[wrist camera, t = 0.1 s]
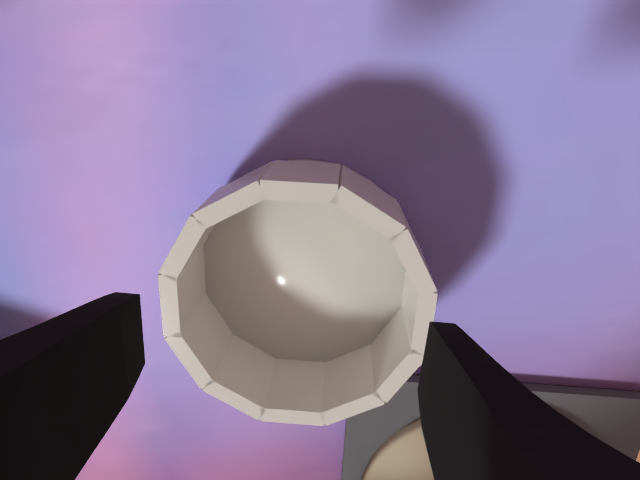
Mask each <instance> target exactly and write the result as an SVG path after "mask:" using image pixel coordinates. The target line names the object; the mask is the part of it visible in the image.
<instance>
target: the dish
mask: <svg viewBox="0 0 640 480" xmlns="http://www.w3.org/2000/svg"><path fill="white" fill-rule="evenodd" d="M158 273H159V274H158V282H159V293H160V304H161V315H162V326H163V336H166V337H165V338H164V339H165V340H166V342H167V343H168V344H169V346H170V347H171V349H172V350H173V351H174V353H175V354H176V355H177V357H178V358H179V360H180V361H181V362H182V364H183V365H184V367H185V368H186V369H187V371H188V372H189V374H190V375H191V376H192V378H193V379H194V380H195V382H196V383H197V385H198V386H199V387H200V389H201V388H203V391H204V392H206V393H208V394H210V395H212V396H214V397H216V398H217V399H219V400H221V401H223V402H225V403H227V404H229V405H230V406H232V407H234V408H236V409H238V410H240V411H242V412H243V413H245V414H247V415H249V416H251V417H253V418H255V419H256V420H259V419H260V417H261V421H266V422H278V423H291V424H304V425H317V426H324V423H325V424H326V426H327V425H330V424H332V423H335V422H338V421H341V420H343V419H346V418H349V417H352V416H354V415H357V414H360V413H363V412H365V411H368V410H371V409H373V408H376V407H379V406H382V405H384V404H385V402H386V403H387V402H388V401H389V400H390V399H391V398H392V397H393V395H394V394H395V393H396V392H397V391H398V390H399V389H400V388H401V386H402V385H403V384H404V383H405V382H406V381H407V380H408V379H409V377H410V376H411V375H412V374H413V373H414V372H415V371H416V370H417V368H418V367H419V366H420V365H421V364H422V361H423V356H424V350H425V345H426V339H427V334H428V328H429V323H430V321H431V322H434V315H435V309H436V302H437V296H438V293H437V289H436V286H435V284H434V281H433V278H432V276H431V273H430V271H429V268H428V266H427V263H426V260H425V258H424V255H423V253H422V251H421V249H420V247H419V245H418V242H417V240H416V238H415V236H414V234H413V232H412V230H411V228H410V226H409V224H408V221H407V219H406V217H405V215H404V213H403V211H402V209H401V207H400V205H399V203H398V201H397V200H396V199H395V198H393V197H392V196H390V195H389V194H387V193H386V192H384V191H383V190H382V189H381V188H380V187H379V186H378V185H376V184H375V183H374V182H372V181H371V180H370V179H368V178H367V177H365V176H363V175H361V174H360V173H358V172H356V171H354V170H352V169H349V168H347V167H346V166H344V165H340V164H337V163H331V162H327V161H321V160H313V159H292V160H285V161H284V160H275V161H274V162H273V161H271V162H269V163H267V164H265V165H263V166H261V167H259V168H257V169H254V170H252V171H250V172H248V173H246V174H245V175H243V176H242V177H240V178H238V179H236V180H234V181H232V182H230V183H228V184H227V185H225V186H223V187H221V188H219V189H217V190H216V191H215V192H214V193H213V194H212V195H211V196H210V197H209V198H208V199H207V200H206V201H205V202H204V203H203V204H202V205H201V206H200V207H199V208H198V209H197V210H196V211H195V212H193V213H192V214H191V215H190V217H189V219H188V220H187V222H186V224H185V226H184V228H183V229H182V231H181V233H180V235H179V237H178V238H177V240H176V242H175V244H174V245H173V247H172V249H171V251H170V253H169V254H168V256H167V258H166V260H165V262H164V263H163V265H162V267H161V269H160V270H159V272H158Z"/></svg>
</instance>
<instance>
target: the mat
mask: <svg viewBox="0 0 640 480" xmlns="http://www.w3.org/2000/svg"><path fill="white" fill-rule="evenodd" d="M419 378H420V375H411V376H410V377H409V379H408V380H407V381H406V382H405V383H404V384H403V385H402V386H401V388H400V389H399V390H398V391H397V392H396V393H395V394H394V395H393V397H392V398H391V399H390V400H389V401H388V402H387V403H386V402H385V404H384V405H382V406H379V407H376V408H373V409H371V410H368V411H365V412H363V413H360V414H357V415H354V416H352V417H349V418H346V428H345V440H344V453H343V465H342V477H341V480H361V478H362V475H363V473H364V470H365V467H366V466H367V464H368V462H369V460H370V459H371V457H372V456H373V454H374V453H375V452H376V451H377V449H378V448H379V447H380V446H381V445H382V444H383V443H384V442H385V441H386V440H387V439H388V438H389V437H390V436H392V435H393V434H395V433H396V432H397V431H399V430H400V429H401V428H403V427H405V426H407V425H408V424H410V423H412V422H414V421H416V420H418V419H420V411H419V401H418V391H417V389H418V384H419ZM522 384H523V385H524V386H525V387H527V388H528V389H529V390H530V391H532V392H533V393H534V394H535V395H537V396H538V397H539V398H540V399H542V400H543V401H544V402H545V403H547V404H548V405H550V406H551V407H552V408H554V409H555V410H556V411H558V412H559V413H561V414H562V415H564V416H565V417H566V418H568V419H569V420H571V421H572V422H574V423H575V424H577V425H578V426H580V427H581V428H582V429H584V430H585V431H587V432H589V433H590V434H592V435H593V436H595V437H596V438H598V439H600V440H601V441H603V442H604V443H606V444H608V445H610V446H611V447H613V448H615V449H616V450H618V451H620V452H621V453H623V454H625V455H627V456H628V457H630V458H632V459H633V460H635V461H636V458H637V455H638V453H639V450H640V392H639V391H625V390H612V389H598V388H585V387H571V386H558V385H544V384H531V383H522Z"/></svg>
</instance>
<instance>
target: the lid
mask: <svg viewBox="0 0 640 480" xmlns="http://www.w3.org/2000/svg"><path fill="white" fill-rule="evenodd" d="M361 480H434V477H433V473H432V469H431V465H430V461H429V457H428V452H427V448H426V444H425V440H424V436H423V432H422V427H421V419H418V420H416V421H414V422H412V423H410V424H408V425H407V426H405V427H403V428H401V429H400V430H399V431H397V432H396V433H395V434H393V435H392V436H390V437H389V438H388V439H387V440H386V441H385V442H384V443H383V444H382V445H381V446H380V447H379V448H378V449H377V451H376V452H375V453H374V454H373V456H372V457H371V459H370V460H369V462H368V464H367V466H366V467H365V470H364V473H363V475H362V478H361Z"/></svg>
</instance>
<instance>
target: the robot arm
mask: <svg viewBox="0 0 640 480" xmlns="http://www.w3.org/2000/svg"><path fill="white" fill-rule="evenodd" d="M144 365H145V357H144V344H143V331H142V318H141V305H140V294H129V293H118V292H115V293H112V294H109V295H106V296H103V297H101V298H98V299H96V300H93V301H91V302H89V303H86V304H84V305H82V306H79V307H77V308H75V309H73V310H70V311H68V312H66V313H64V314H61V315H59V316H57V317H55V318H52V319H50V320H48V321H46V322H43V323H41V324H39V325H36V326H34V327H31V328H29V329H26V330H24V331H22V332H19V333H17V334H14V335H12V336H9V337H7V338H4V339H2V340H0V480H75V478H76V477H77V475H78V474H79V472H80V471H81V469H82V468H83V466H84V465H85V463H86V462H87V460H88V459H89V457H90V456H91V454H92V453H93V451H94V450H95V448H96V447H97V445H98V444H99V442H100V441H101V440H102V438H103V437H104V435H105V434H106V432H107V431H108V429H109V428H110V426H111V425H112V423H113V421H114V420H115V418H116V417H117V415H118V414H119V412H120V411H121V409H122V408H123V406H124V405H125V403H126V401H127V400H128V398H129V396H130V394H131V392H132V390H133V388H134V386H135V384H136V382H137V380H138V378H139V376H140V373H141V371H142V369H143V367H144ZM417 391H418V401H419V411H420V419H421V427H422V432H423V436H424V440H425V444H426V448H427V452H428V457H429V461H430V465H431V469H432V473H433V477H434V480H640V463H639V462H637V461H635V460H633V459H632V458H630V457H628V456H627V455H625V454H623V453H621V452H620V451H618V450H616V449H615V448H613V447H611V446H610V445H608V444H606V443H604V442H603V441H601V440H600V439H598V438H596V437H595V436H593V435H592V434H590V433H589V432H587V431H585V430H584V429H582V428H581V427H580V426H578V425H577V424H575V423H574V422H572V421H571V420H569V419H568V418H566V417H565V416H564V415H562V414H561V413H559V412H558V411H556V410H555V409H554V408H552V407H551V406H550V405H548V404H547V403H545V402H544V401H543V400H542V399H540V398H539V397H538V396H537V395H535V394H534V393H533V392H532V391H530V390H529V389H528V388H527V387H525V386H524V385H523V384H522V383H520V382H519V381H518V380H517V379H516V378H514V377H513V376H512V375H511V374H510V373H509V372H508V371H506V370H505V369H504V368H503V367H502V366H501V365H500V364H499V363H497V362H496V361H495V360H494V359H493V358H492V357H491V356H490V355H489V354H488V353H487V352H485V351H484V350H483V349H482V348H481V347H480V346H479V345H478V344H477V343H476V342H475V341H474V340H473V339H472V338H471V337H469V336H468V335H467V334H466V333H465V332H464V331H463V330H462V329H461V328H460V327H458V326H457V325H456V324H453V323H442V322H431V321H430V323H429V328H428V334H427V339H426V345H425V350H424V356H423V361H422V367H421V372H420V378H419V384H418V389H417Z"/></svg>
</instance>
